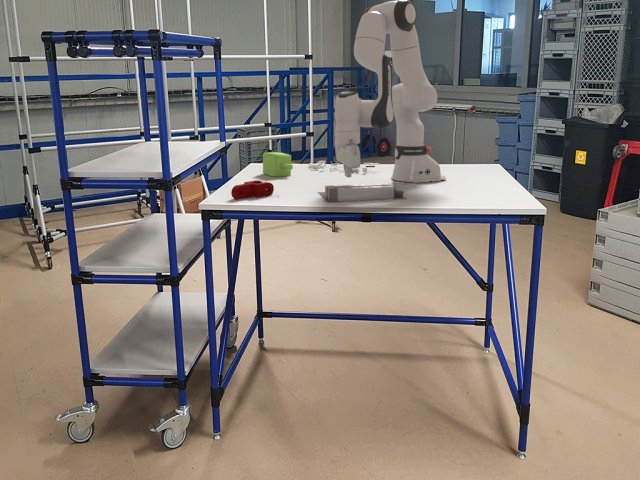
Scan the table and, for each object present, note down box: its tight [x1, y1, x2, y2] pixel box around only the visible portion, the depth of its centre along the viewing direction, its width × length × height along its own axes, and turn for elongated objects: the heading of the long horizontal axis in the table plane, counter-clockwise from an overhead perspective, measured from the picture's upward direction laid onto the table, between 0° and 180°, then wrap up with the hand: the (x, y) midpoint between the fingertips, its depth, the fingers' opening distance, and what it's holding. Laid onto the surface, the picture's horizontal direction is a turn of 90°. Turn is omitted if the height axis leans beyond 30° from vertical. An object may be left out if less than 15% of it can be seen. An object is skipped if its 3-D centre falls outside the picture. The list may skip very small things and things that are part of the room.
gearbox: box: [262, 151, 294, 178], centre depth 254 cm, size 18×10×10 cm, turn 33°
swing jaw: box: [324, 183, 391, 199], centre depth 203 cm, size 23×3×4 cm, turn 102°
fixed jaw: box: [327, 181, 405, 203], centre depth 201 cm, size 28×5×5 cm, turn 102°
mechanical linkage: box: [230, 179, 275, 200], centre depth 210 cm, size 16×7×5 cm, turn 137°
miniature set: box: [308, 160, 380, 173], centre depth 267 cm, size 6×35×12 cm
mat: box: [316, 191, 407, 204], centre depth 207 cm, size 28×18×1 cm, turn 102°
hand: (348, 176), depth 211 cm, fingers closed
